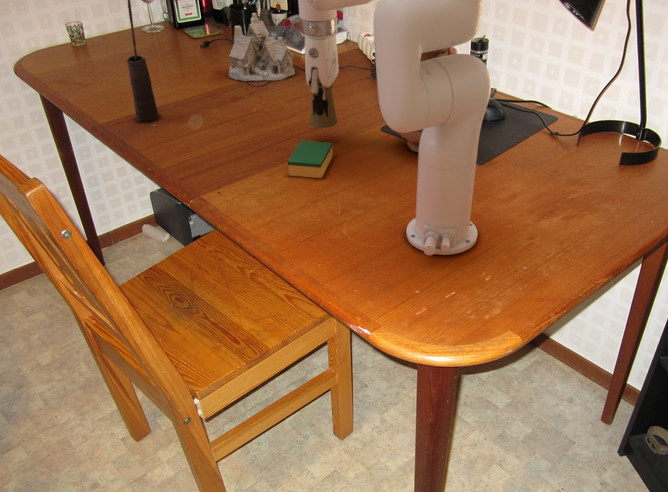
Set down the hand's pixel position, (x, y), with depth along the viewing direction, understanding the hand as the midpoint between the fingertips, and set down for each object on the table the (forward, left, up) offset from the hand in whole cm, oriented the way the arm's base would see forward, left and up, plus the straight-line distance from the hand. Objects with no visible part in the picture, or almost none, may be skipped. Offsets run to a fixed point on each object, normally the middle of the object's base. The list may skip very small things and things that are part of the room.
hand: (323, 112), depth 142 cm
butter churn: (+4, +46, -7) cm, 47 cm away
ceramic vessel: (+2, -24, -7) cm, 25 cm away
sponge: (-12, 0, -7) cm, 14 cm away
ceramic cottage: (+39, +28, -7) cm, 49 cm away
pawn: (0, 0, -3) cm, 3 cm away
